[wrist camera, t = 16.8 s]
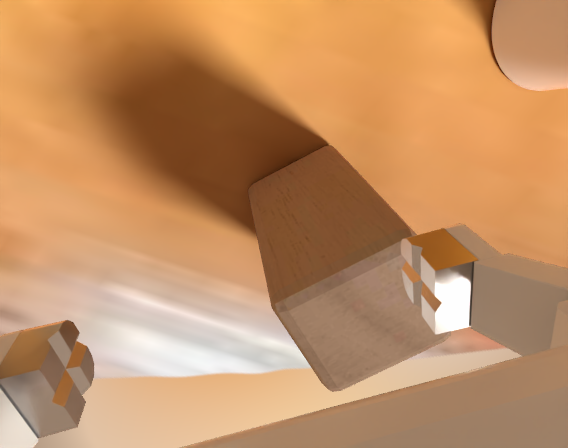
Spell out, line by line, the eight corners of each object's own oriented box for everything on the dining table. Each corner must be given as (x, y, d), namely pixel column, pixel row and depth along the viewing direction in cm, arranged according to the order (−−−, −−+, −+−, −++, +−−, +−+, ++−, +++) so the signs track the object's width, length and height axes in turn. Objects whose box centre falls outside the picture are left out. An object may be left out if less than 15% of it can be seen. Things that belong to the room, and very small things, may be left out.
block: (285, 256, 47) (330, 402, 29) (243, 185, 42) (266, 307, 24) (364, 216, 46) (460, 340, 28) (330, 138, 41) (419, 230, 24)
